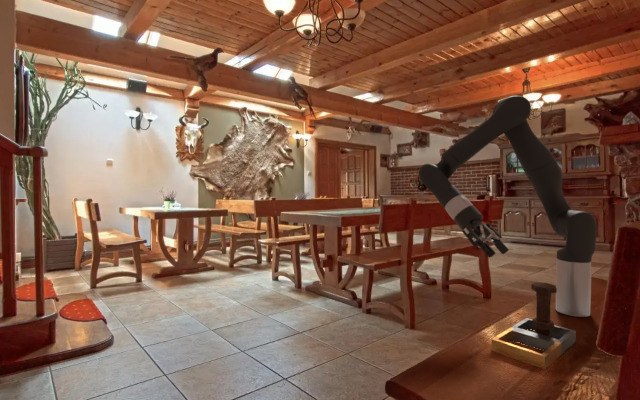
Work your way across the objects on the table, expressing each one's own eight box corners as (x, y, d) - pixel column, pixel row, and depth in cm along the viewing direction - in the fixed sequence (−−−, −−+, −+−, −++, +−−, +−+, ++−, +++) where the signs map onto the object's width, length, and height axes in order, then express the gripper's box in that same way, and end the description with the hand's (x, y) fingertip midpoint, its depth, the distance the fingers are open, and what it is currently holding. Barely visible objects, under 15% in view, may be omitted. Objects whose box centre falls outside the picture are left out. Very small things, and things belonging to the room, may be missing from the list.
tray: (526, 328, 103) (526, 317, 103) (575, 341, 94) (575, 330, 94) (491, 350, 89) (491, 339, 89) (544, 369, 80) (544, 356, 80)
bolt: (558, 345, 92) (559, 288, 91) (536, 343, 93) (537, 287, 92) (548, 336, 98) (549, 282, 97) (528, 334, 99) (529, 281, 98)
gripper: (459, 205, 105) (498, 249, 97) (482, 203, 114) (519, 243, 106) (442, 221, 109) (478, 264, 101) (466, 218, 118) (500, 258, 110)
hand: (499, 254), depth 103 cm, fingers open, 8 cm apart
